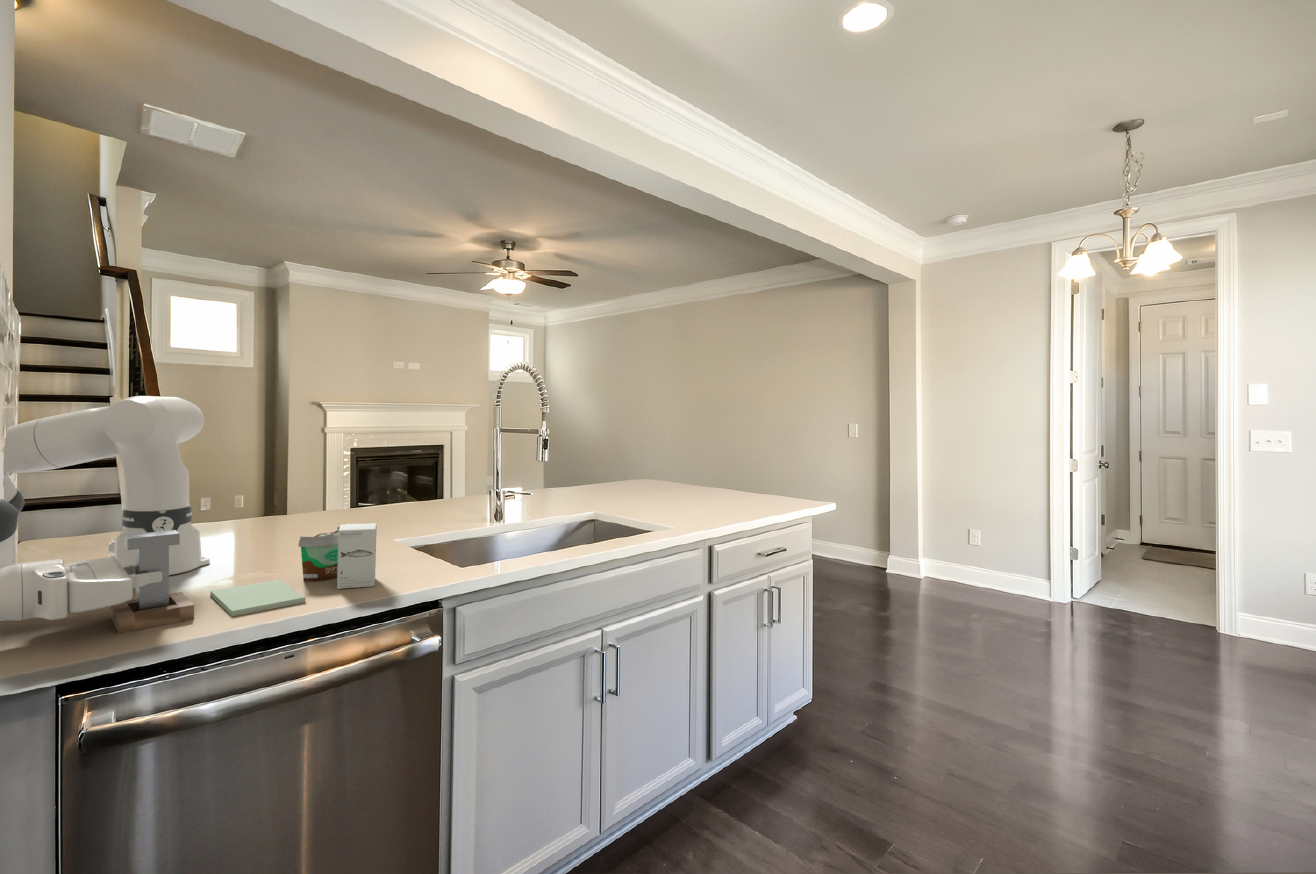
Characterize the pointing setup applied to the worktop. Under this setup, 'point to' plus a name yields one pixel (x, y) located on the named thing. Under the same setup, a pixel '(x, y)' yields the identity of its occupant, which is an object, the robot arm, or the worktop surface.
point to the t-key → (152, 565)
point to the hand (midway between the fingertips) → (158, 572)
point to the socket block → (152, 613)
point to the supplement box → (356, 555)
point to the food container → (320, 556)
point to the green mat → (257, 597)
